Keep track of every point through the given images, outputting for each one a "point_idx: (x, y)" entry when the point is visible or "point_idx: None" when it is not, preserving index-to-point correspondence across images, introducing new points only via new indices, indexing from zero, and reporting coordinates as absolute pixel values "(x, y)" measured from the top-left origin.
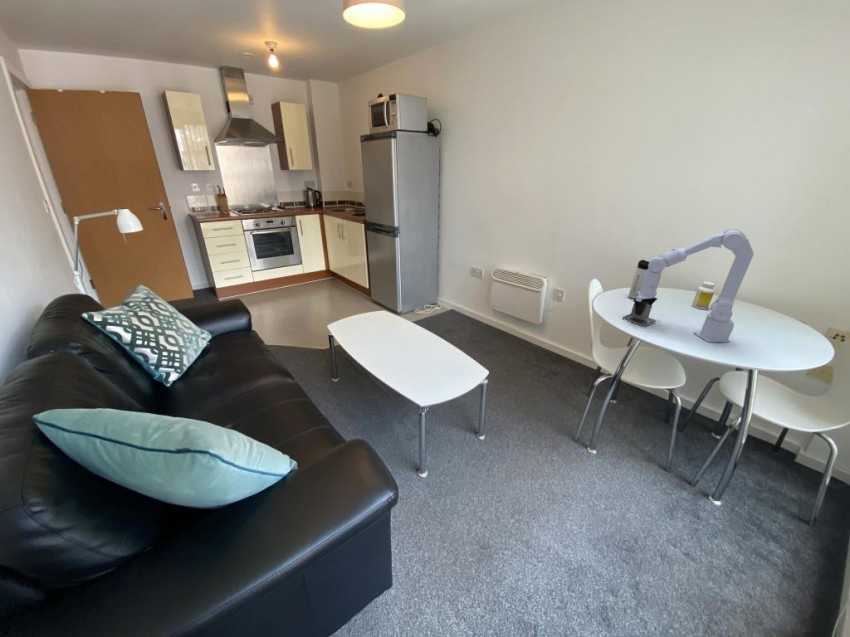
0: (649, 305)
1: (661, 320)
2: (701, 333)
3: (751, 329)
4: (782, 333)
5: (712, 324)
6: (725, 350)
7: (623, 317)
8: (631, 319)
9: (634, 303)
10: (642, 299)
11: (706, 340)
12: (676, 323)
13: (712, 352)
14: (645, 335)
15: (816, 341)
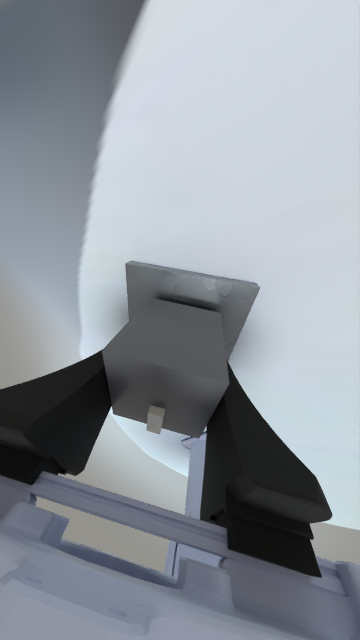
0: (177, 428)
1: (260, 382)
2: (199, 447)
3: (338, 495)
4: (345, 513)
5: (186, 499)
6: (169, 449)
7: (126, 268)
8: (136, 307)
9: (111, 354)
10: (11, 482)
11: (183, 441)
12: (263, 411)
13: (140, 437)
14: (82, 358)
15: (328, 521)
